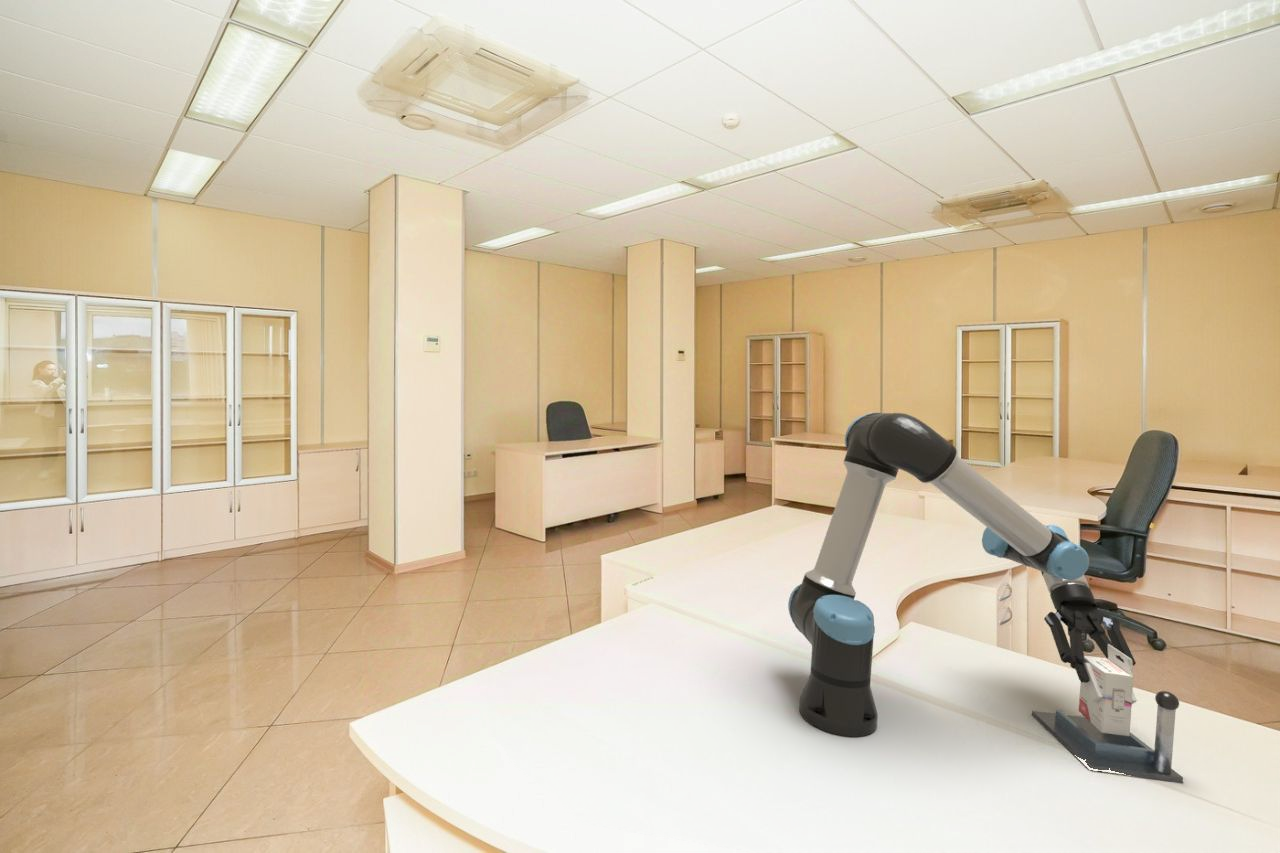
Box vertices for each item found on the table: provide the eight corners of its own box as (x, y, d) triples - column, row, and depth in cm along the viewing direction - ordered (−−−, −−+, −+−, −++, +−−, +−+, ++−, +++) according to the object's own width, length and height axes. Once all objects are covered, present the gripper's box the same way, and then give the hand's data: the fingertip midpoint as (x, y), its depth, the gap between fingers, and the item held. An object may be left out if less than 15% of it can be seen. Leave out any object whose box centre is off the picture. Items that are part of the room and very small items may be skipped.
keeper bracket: (1089, 770, 104) (1095, 687, 104) (1031, 715, 124) (1036, 645, 124) (1182, 783, 102) (1189, 698, 102) (1108, 724, 122) (1113, 653, 122)
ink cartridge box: (1076, 711, 118) (1081, 639, 118) (1104, 714, 117) (1108, 642, 117) (1101, 733, 109) (1106, 656, 109) (1131, 737, 108) (1136, 660, 108)
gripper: (1106, 603, 128) (1156, 714, 112) (1017, 595, 130) (1053, 702, 114) (1124, 586, 122) (1179, 700, 106) (1031, 578, 125) (1071, 688, 109)
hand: (1114, 701), depth 110 cm, fingers closed on ink cartridge box, 5 cm apart
